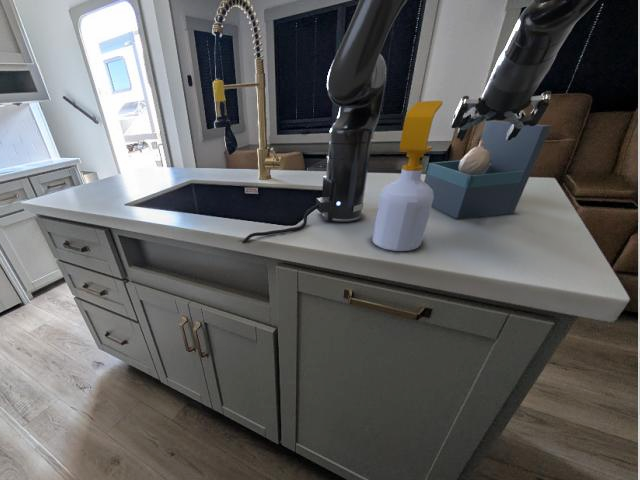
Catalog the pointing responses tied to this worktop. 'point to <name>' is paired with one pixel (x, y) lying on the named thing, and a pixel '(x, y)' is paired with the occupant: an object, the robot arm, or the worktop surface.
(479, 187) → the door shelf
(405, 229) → the soap bottle
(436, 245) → the worktop surface
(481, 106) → the robot arm
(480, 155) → the garlic bulb
